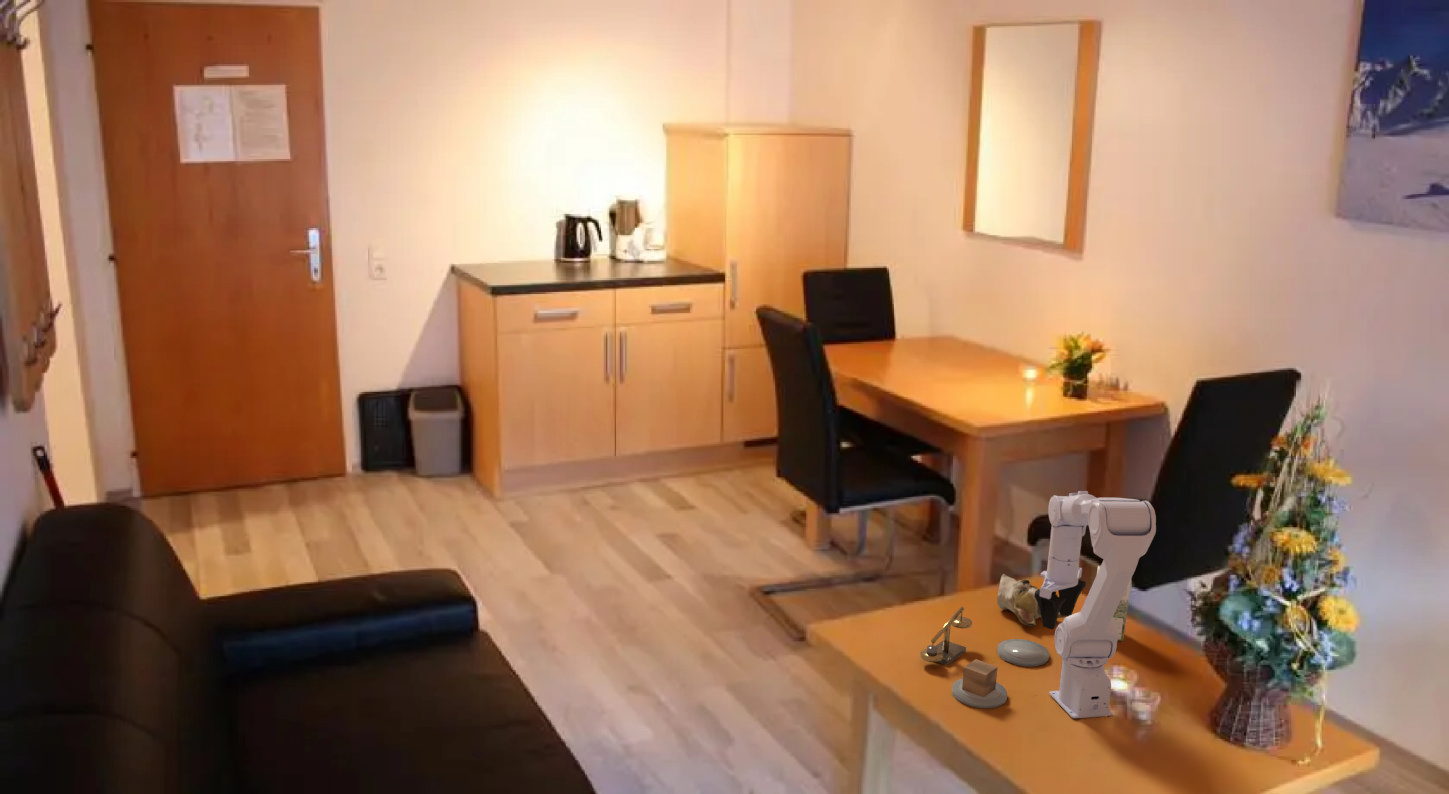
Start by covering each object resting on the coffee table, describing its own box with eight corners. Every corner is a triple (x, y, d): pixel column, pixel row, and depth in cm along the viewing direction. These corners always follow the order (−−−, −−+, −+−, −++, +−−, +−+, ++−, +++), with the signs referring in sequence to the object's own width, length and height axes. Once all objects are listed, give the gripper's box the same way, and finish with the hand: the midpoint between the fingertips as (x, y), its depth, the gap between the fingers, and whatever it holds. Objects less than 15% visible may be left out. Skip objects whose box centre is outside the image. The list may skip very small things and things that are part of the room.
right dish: (1057, 664, 234) (1057, 659, 234) (1010, 668, 232) (1010, 662, 232) (1034, 642, 244) (1035, 637, 244) (989, 645, 242) (989, 640, 242)
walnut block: (973, 681, 224) (975, 659, 223) (995, 689, 222) (997, 666, 221) (962, 689, 221) (963, 667, 220) (983, 697, 218) (985, 675, 217)
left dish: (1015, 706, 218) (1016, 700, 217) (964, 710, 216) (965, 704, 215) (993, 680, 227) (993, 675, 227) (944, 683, 225) (944, 678, 225)
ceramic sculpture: (1021, 562, 262) (1072, 590, 250) (1016, 598, 265) (1067, 627, 253) (985, 572, 257) (1036, 601, 245) (980, 608, 259) (1031, 638, 247)
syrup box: (1117, 629, 251) (1125, 565, 247) (1123, 642, 245) (1132, 576, 242) (1090, 628, 251) (1097, 563, 248) (1095, 640, 246) (1103, 574, 242)
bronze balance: (953, 637, 245) (956, 599, 243) (975, 645, 242) (978, 606, 240) (914, 664, 233) (917, 625, 230) (936, 672, 230) (940, 632, 227)
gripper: (1060, 540, 236) (1053, 604, 239) (1027, 560, 225) (1021, 626, 229) (1094, 550, 232) (1087, 614, 235) (1062, 571, 221) (1055, 638, 224)
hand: (1056, 621), depth 232 cm, fingers open, 7 cm apart
